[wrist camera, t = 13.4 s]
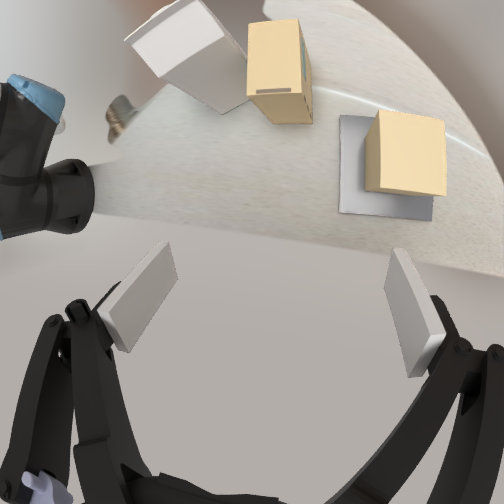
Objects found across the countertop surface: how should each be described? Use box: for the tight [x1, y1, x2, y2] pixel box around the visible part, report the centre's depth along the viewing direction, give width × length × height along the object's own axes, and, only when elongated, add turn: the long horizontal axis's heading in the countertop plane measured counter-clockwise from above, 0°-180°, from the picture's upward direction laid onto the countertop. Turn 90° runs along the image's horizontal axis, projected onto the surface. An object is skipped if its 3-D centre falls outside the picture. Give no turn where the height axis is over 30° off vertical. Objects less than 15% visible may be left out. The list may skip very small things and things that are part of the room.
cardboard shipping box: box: [247, 19, 312, 124], centre depth 25 cm, size 5×9×11 cm, turn 179°
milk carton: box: [124, 0, 250, 114], centre depth 23 cm, size 7×7×19 cm
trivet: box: [339, 115, 433, 221], centre depth 28 cm, size 12×12×1 cm
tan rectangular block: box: [365, 110, 447, 196], centre depth 23 cm, size 6×6×11 cm
